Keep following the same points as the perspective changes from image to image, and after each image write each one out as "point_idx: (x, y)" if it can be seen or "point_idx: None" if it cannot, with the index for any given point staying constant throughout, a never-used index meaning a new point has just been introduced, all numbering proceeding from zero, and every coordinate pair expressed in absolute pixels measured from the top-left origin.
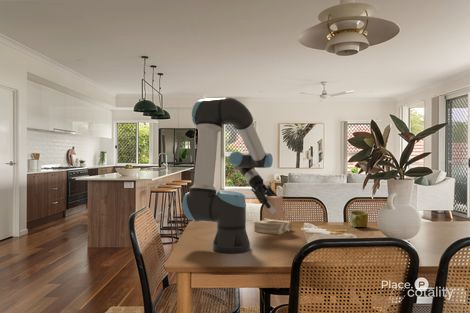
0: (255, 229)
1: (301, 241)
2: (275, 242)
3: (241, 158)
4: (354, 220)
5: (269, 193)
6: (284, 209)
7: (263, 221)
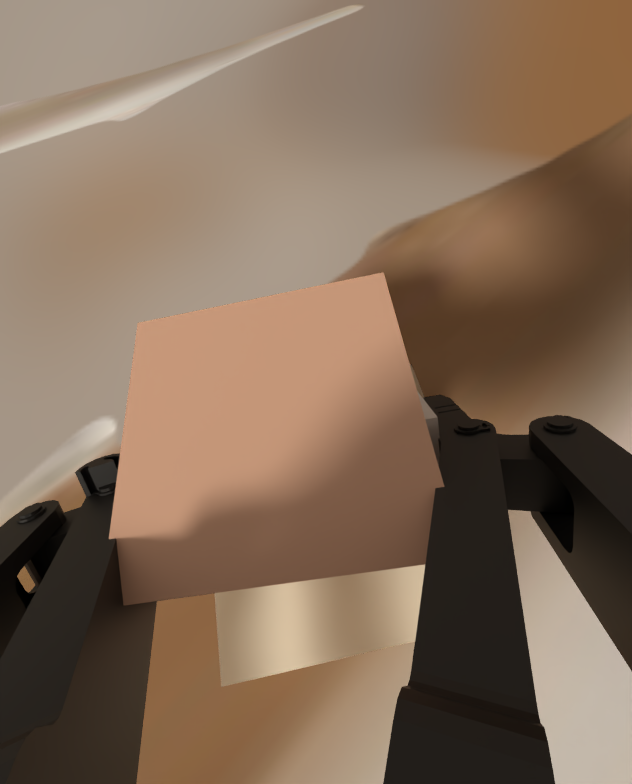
0: None
1: (424, 228)
2: (561, 265)
3: None
4: None
5: (94, 659)
6: None
7: (392, 585)
